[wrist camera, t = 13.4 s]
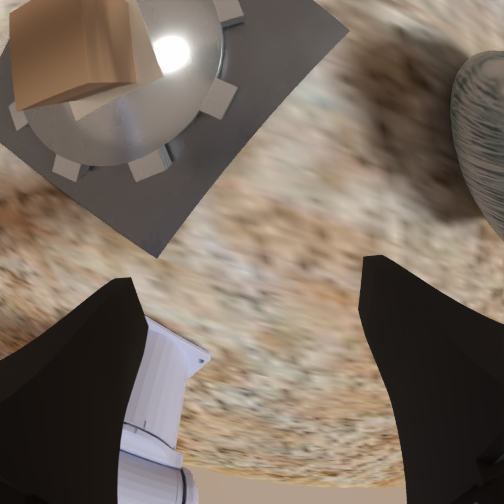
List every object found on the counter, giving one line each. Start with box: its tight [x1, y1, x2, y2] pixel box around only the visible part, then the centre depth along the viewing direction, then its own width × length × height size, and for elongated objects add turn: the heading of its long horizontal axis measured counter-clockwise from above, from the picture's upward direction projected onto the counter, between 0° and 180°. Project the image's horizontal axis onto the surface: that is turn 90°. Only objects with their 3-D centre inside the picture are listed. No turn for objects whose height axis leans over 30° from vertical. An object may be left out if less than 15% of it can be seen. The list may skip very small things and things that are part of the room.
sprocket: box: [8, 0, 244, 182], centre depth 11 cm, size 14×14×6 cm
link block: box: [10, 0, 137, 112], centre depth 10 cm, size 4×4×5 cm
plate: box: [0, 0, 349, 258], centre depth 14 cm, size 18×18×1 cm
